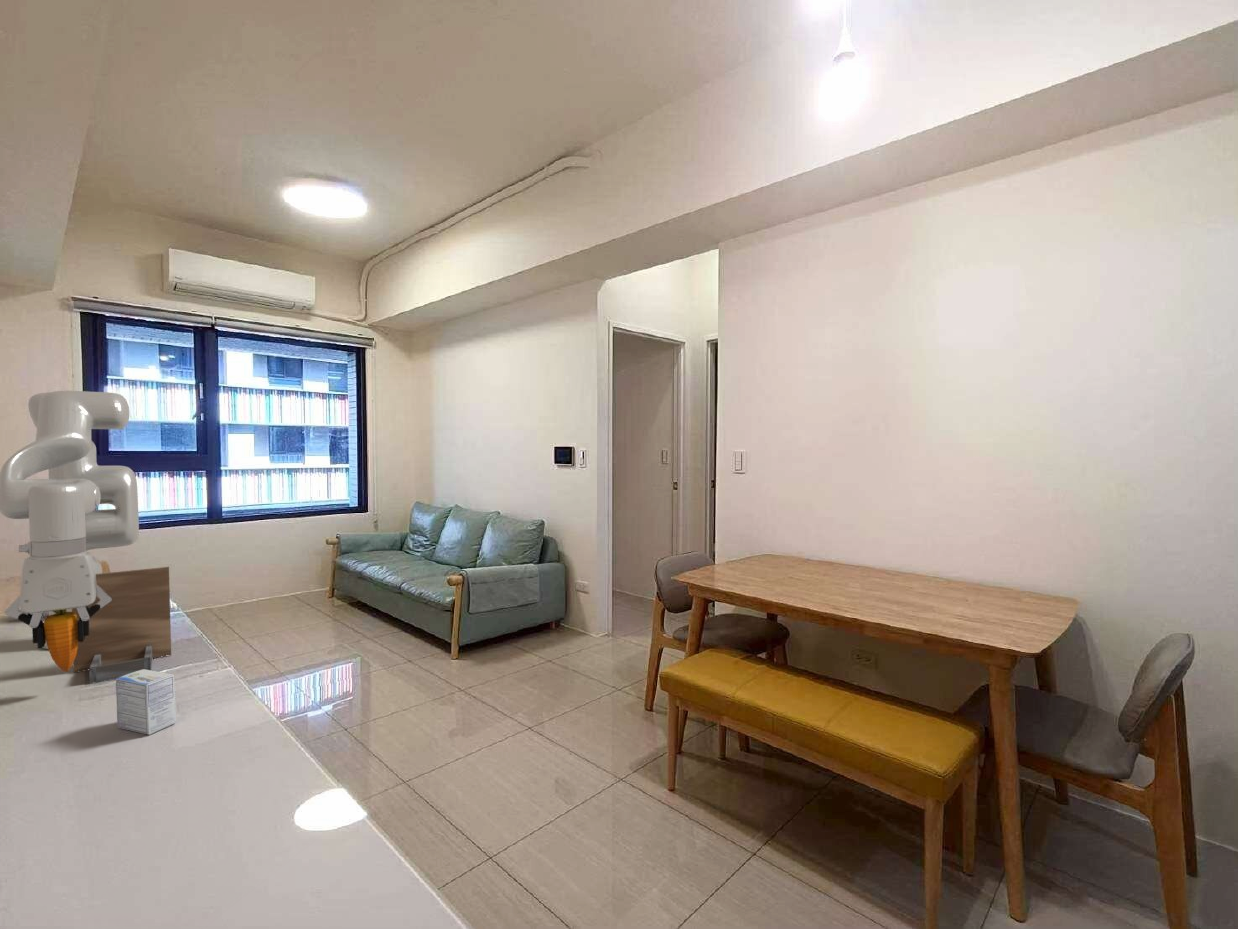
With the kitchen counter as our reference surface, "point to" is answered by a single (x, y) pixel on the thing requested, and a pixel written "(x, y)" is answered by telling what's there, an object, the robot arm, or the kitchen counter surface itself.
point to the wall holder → (127, 624)
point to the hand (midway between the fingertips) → (62, 642)
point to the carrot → (62, 637)
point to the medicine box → (145, 701)
